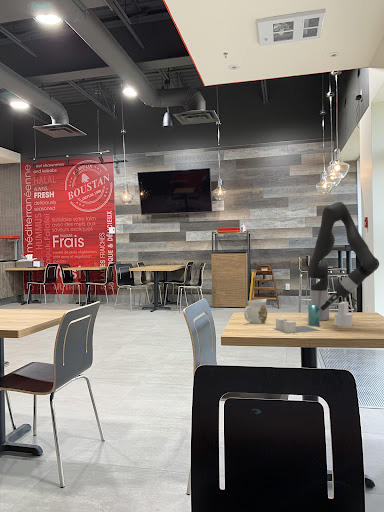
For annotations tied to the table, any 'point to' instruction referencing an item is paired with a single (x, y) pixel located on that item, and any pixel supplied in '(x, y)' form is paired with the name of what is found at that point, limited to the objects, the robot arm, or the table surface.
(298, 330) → the slate board
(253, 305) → the pitcher
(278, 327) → the cream cube
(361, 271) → the robot arm
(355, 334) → the table surface
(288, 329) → the cream cube
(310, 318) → the teal glass cylinder
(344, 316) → the base with upright slab
